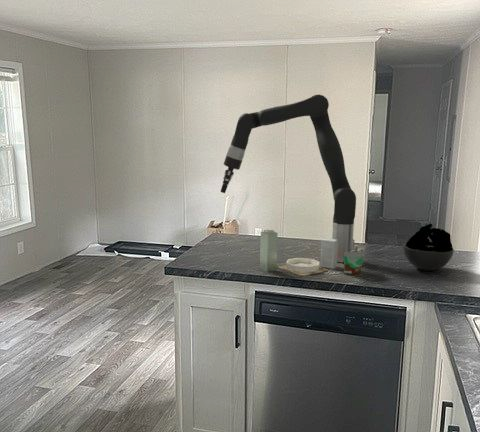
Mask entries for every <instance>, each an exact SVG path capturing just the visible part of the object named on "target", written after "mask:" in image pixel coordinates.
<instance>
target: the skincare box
mask: <svg viewBox="0 0 480 432" xmlns="http://www.w3.org/2000/svg"><path fill="white" fill-rule="evenodd" d="M337 243H338V240H335V239H332V238H323V239H321V244H320V267H321V268H324V269H333V270H334V269H335V268H336V267H337V263H338V262H337Z"/></svg>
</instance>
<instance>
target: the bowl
mask: <svg viewBox="0 0 480 432" xmlns="http://www.w3.org/2000/svg"><path fill="white" fill-rule="evenodd" d="M285 265H286V267H287V269H288V270H290V271H293V272H300V273H311V272H316V271H318V270H319V267H320V261H318V260H316V259H313V258H309V257H304V258H303V257H296V258H295V257H294V258H289V259H287V260H286V262H285Z"/></svg>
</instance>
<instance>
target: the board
mask: <svg viewBox="0 0 480 432" xmlns="http://www.w3.org/2000/svg"><path fill="white" fill-rule="evenodd" d="M277 269H281V270H283V271H285V272H289V273H291V274H294V275H297V276H299V277H303V276H310V275H313V274H319V273H324V272H328V271H329V269H328V268H325V267H321V266H319V270H318V271H316V272H311V273H300V272H293V271H290V270H288V269H287V267H286V264H284V265H280V266H278V265H277Z"/></svg>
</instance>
